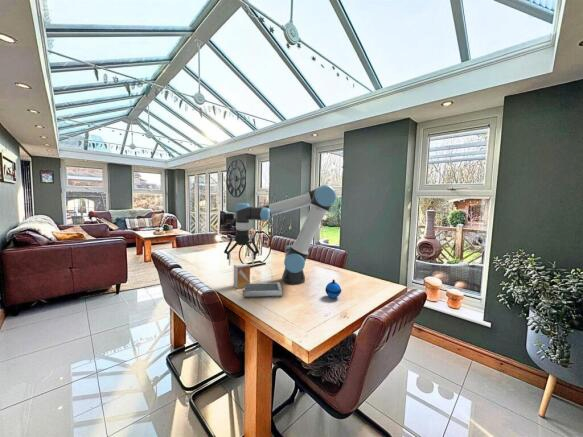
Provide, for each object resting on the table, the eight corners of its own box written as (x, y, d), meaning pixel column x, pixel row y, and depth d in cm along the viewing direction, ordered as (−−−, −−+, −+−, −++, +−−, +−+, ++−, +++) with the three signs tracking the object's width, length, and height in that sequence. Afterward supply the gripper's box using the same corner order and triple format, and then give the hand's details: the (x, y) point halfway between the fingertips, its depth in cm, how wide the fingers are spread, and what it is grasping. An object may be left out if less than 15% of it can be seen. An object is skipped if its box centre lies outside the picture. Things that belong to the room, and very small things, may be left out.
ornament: (322, 295, 139) (323, 277, 138) (335, 293, 142) (336, 276, 141) (330, 301, 131) (331, 283, 130) (344, 299, 134) (344, 281, 133)
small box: (237, 289, 144) (237, 267, 143) (233, 285, 149) (233, 264, 148) (250, 286, 148) (250, 265, 147) (245, 283, 154) (246, 263, 153)
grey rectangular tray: (279, 288, 147) (279, 281, 147) (281, 297, 134) (282, 289, 134) (244, 289, 144) (244, 282, 143) (244, 298, 131) (244, 291, 131)
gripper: (263, 229, 152) (262, 263, 153) (221, 228, 147) (220, 263, 149) (263, 230, 144) (262, 266, 146) (219, 229, 140) (218, 266, 142)
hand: (241, 264), depth 148 cm, fingers open, 13 cm apart
